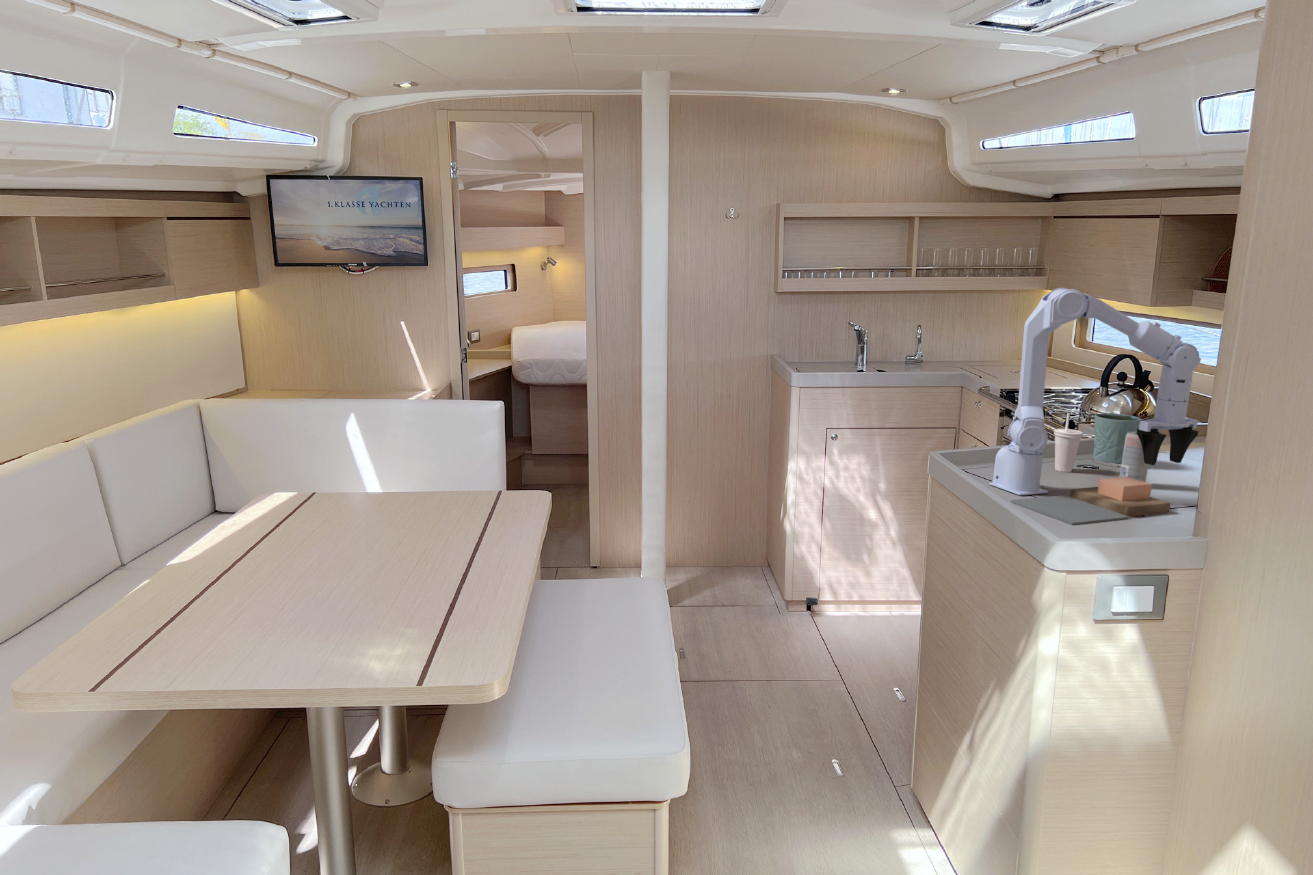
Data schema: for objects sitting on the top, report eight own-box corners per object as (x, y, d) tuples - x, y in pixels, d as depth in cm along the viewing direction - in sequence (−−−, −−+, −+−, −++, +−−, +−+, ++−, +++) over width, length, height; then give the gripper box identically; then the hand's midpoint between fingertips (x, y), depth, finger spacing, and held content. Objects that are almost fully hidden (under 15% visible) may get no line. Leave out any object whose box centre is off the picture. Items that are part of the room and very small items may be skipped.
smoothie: (1046, 466, 218) (1053, 410, 215) (1074, 468, 217) (1082, 412, 214) (1052, 472, 212) (1060, 414, 209) (1080, 474, 210) (1089, 416, 208)
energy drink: (1142, 483, 204) (1150, 432, 202) (1146, 489, 199) (1155, 437, 197) (1116, 480, 206) (1124, 430, 203) (1120, 486, 201) (1128, 434, 198)
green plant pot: (1142, 466, 222) (1149, 419, 219) (1115, 469, 217) (1122, 421, 215) (1106, 457, 231) (1113, 411, 228) (1079, 460, 226) (1086, 413, 224)
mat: (1010, 502, 184) (1011, 500, 184) (1065, 496, 190) (1065, 495, 190) (1072, 524, 170) (1072, 522, 170) (1129, 518, 175) (1129, 516, 175)
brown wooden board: (1070, 498, 189) (1071, 489, 189) (1111, 494, 194) (1112, 485, 193) (1126, 517, 176) (1127, 507, 176) (1169, 512, 181) (1170, 502, 180)
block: (1097, 493, 186) (1099, 479, 185) (1125, 490, 189) (1127, 476, 188) (1121, 500, 181) (1123, 486, 180) (1149, 498, 184) (1152, 484, 183)
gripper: (1164, 404, 178) (1154, 469, 181) (1214, 401, 183) (1204, 465, 186) (1134, 398, 184) (1125, 461, 187) (1183, 396, 190) (1173, 457, 193)
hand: (1162, 463), depth 187 cm, fingers open, 7 cm apart
